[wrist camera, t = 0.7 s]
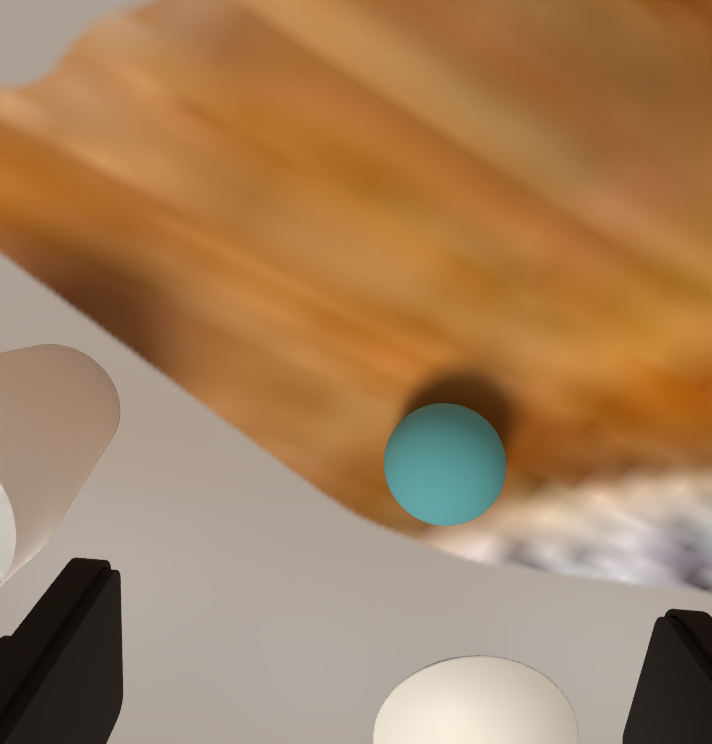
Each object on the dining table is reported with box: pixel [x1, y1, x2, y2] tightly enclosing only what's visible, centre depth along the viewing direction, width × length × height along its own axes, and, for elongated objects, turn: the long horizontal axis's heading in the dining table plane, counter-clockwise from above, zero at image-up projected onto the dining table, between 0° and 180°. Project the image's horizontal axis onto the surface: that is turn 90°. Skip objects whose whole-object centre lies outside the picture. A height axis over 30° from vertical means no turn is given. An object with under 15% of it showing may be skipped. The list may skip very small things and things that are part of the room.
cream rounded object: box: [373, 655, 578, 744], centre depth 39 cm, size 13×13×1 cm
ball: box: [384, 403, 506, 526], centre depth 30 cm, size 6×6×6 cm
